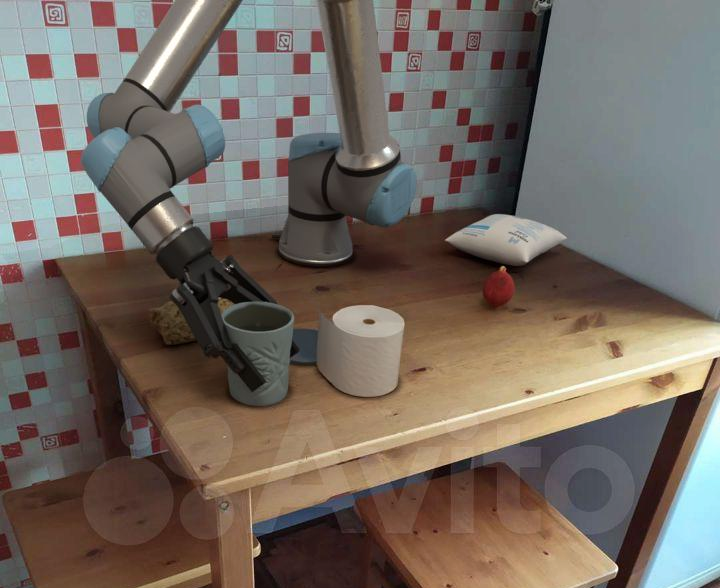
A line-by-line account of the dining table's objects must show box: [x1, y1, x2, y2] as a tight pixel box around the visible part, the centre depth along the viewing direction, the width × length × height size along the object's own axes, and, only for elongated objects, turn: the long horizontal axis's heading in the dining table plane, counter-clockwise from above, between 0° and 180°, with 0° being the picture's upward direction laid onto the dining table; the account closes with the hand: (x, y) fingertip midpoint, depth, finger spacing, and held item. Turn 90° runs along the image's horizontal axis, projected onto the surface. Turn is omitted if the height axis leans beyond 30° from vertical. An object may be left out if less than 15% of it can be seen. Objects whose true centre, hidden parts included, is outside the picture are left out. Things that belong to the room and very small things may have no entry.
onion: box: [482, 265, 515, 309], centre depth 140 cm, size 6×6×8 cm
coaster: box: [290, 328, 318, 366], centre depth 124 cm, size 12×12×1 cm
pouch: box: [444, 213, 568, 267], centre depth 161 cm, size 8×19×20 cm
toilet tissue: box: [315, 304, 406, 398], centre depth 114 cm, size 11×12×10 cm
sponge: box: [148, 284, 235, 346], centre depth 125 cm, size 13×8×20 cm
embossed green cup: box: [221, 301, 295, 407], centre depth 109 cm, size 10×10×12 cm
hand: (276, 370), depth 109 cm, fingers closed on embossed green cup, 10 cm apart
